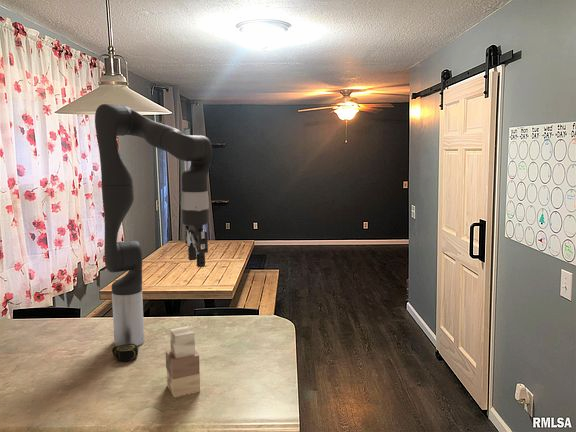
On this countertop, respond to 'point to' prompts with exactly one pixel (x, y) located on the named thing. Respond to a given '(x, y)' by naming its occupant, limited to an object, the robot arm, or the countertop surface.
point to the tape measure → (125, 352)
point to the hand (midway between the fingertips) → (196, 263)
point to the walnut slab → (182, 365)
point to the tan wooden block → (183, 385)
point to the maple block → (182, 342)
